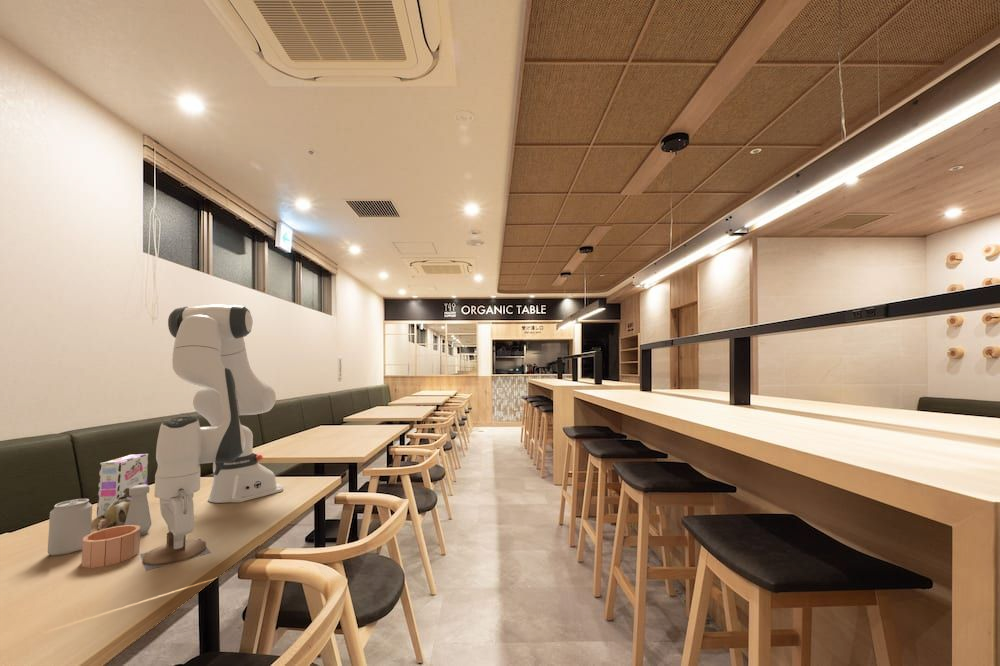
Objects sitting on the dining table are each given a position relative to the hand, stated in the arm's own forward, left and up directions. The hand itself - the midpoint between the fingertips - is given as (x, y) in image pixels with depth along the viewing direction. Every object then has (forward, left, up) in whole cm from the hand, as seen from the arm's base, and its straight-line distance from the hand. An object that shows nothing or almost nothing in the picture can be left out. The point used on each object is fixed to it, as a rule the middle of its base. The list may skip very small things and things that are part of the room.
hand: (175, 544), depth 102 cm
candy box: (+6, -55, -3) cm, 55 cm away
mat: (0, 0, -2) cm, 2 cm away
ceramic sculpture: (+8, -35, -3) cm, 36 cm away
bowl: (+11, -9, -2) cm, 14 cm away
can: (+18, -23, -3) cm, 29 cm away
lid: (0, 0, -2) cm, 2 cm away
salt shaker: (+5, -24, -3) cm, 25 cm away
